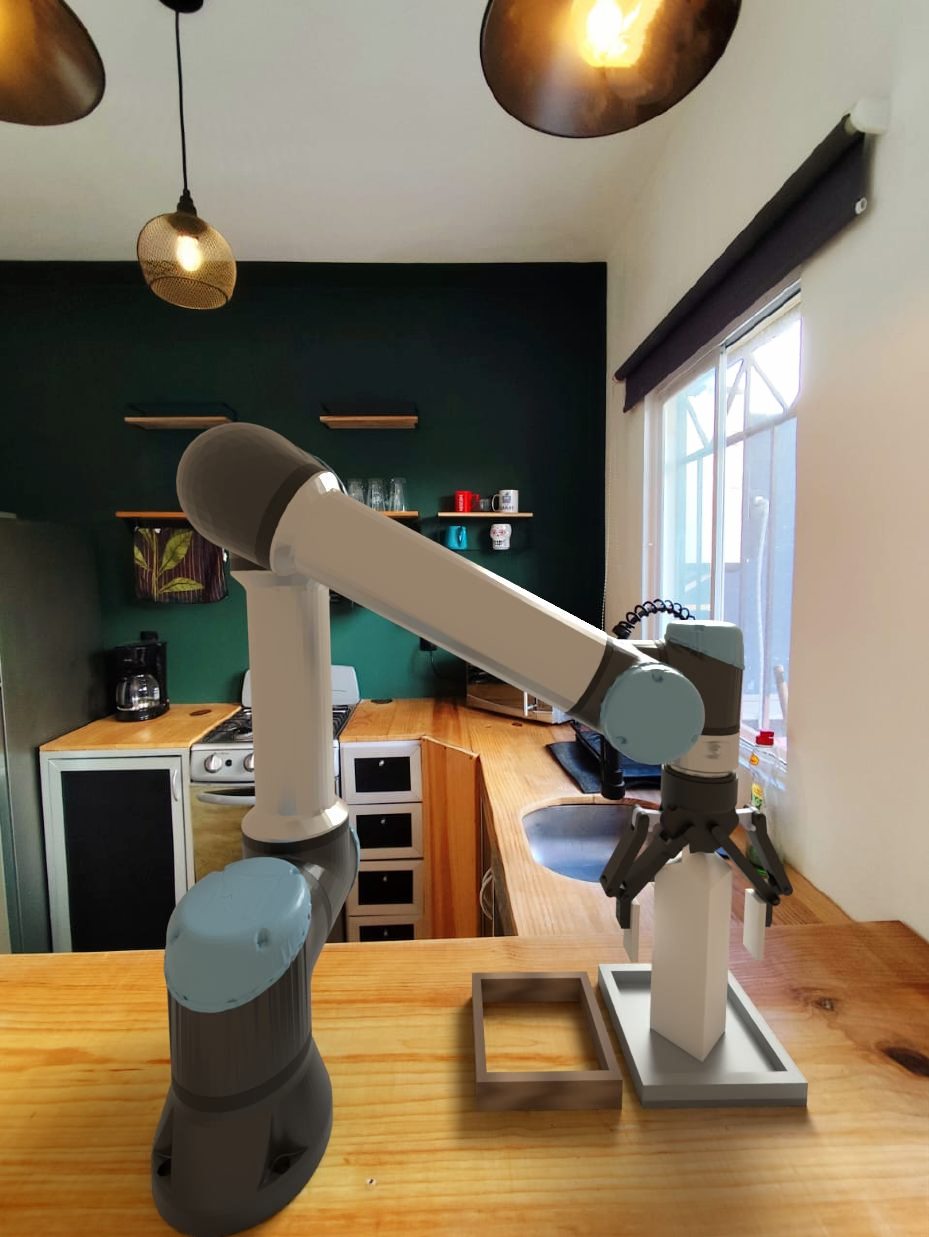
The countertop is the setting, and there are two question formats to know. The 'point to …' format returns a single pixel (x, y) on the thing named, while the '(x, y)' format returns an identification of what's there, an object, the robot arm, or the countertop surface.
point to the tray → (672, 1078)
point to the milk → (691, 950)
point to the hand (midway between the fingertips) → (691, 953)
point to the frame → (544, 1085)
